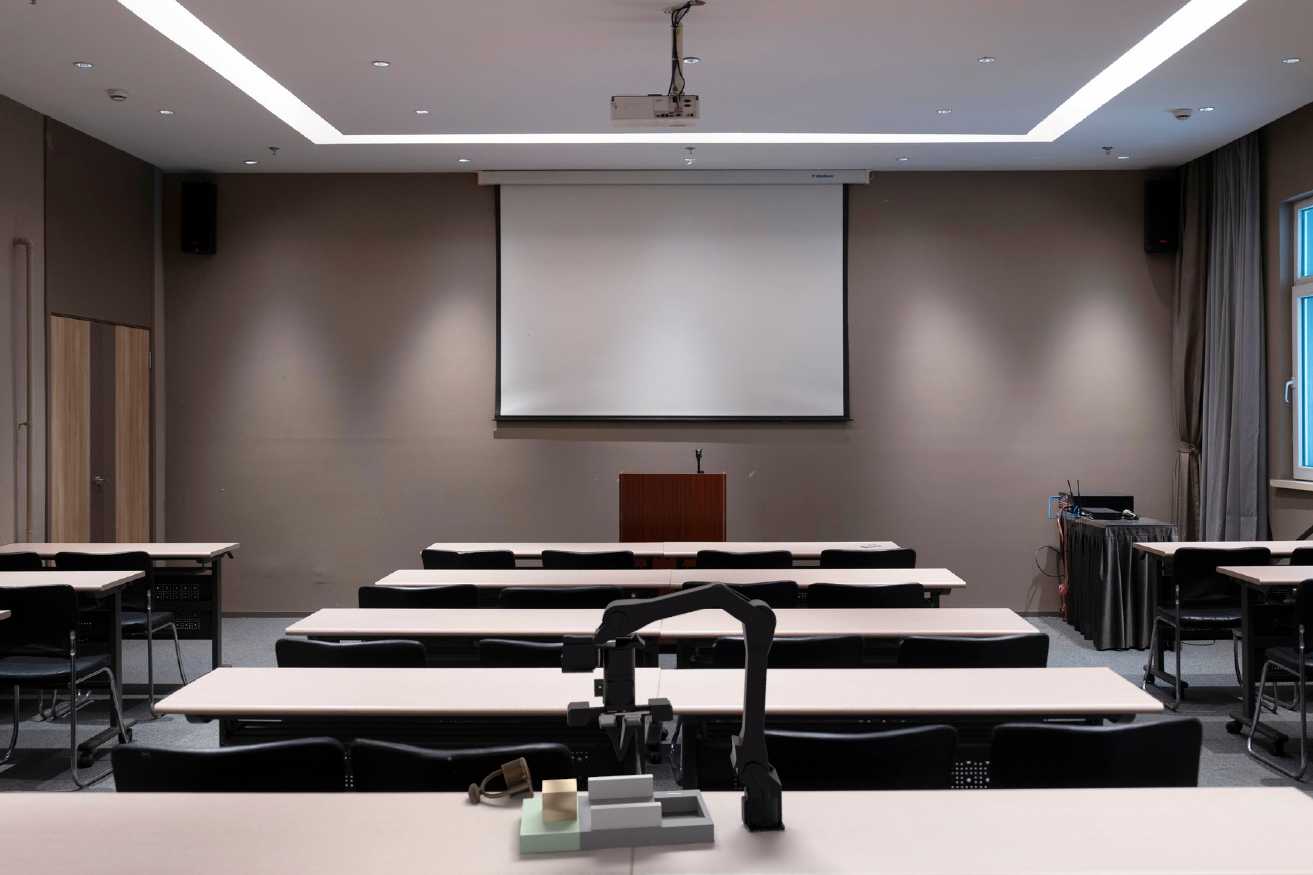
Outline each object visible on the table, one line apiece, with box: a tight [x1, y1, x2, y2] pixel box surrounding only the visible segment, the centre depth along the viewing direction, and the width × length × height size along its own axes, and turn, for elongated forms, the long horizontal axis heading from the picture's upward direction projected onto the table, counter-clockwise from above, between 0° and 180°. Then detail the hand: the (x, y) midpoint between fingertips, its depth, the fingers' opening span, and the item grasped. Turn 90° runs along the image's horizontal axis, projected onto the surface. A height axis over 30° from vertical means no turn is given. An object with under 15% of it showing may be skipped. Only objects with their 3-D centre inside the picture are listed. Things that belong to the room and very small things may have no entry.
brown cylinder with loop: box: [467, 757, 535, 803], centre depth 175 cm, size 7×13×10 cm
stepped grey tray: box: [519, 773, 715, 855], centre depth 159 cm, size 33×16×6 cm, turn 96°
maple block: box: [541, 778, 578, 822], centre depth 158 cm, size 6×6×5 cm
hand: (620, 759), depth 160 cm, fingers closed
